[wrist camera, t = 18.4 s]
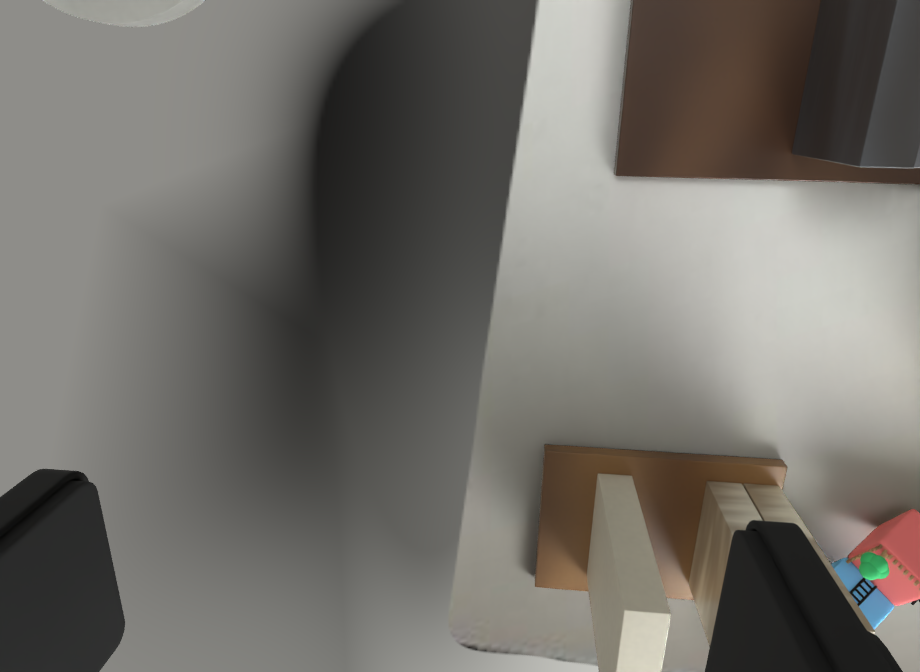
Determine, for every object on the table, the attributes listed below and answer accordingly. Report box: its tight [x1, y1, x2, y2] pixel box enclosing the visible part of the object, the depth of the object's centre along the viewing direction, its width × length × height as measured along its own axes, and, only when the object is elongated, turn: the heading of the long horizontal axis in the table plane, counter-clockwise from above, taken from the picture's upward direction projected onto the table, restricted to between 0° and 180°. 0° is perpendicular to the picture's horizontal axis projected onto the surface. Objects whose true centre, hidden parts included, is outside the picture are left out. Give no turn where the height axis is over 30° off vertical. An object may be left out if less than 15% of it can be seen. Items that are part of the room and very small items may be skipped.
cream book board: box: [535, 444, 875, 646], centre depth 41 cm, size 16×12×14 cm
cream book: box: [587, 473, 671, 672], centre depth 40 cm, size 2×9×13 cm, turn 179°
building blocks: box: [831, 509, 920, 629], centre depth 43 cm, size 8×8×12 cm
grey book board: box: [614, 0, 920, 184], centre depth 32 cm, size 19×12×9 cm, turn 89°
